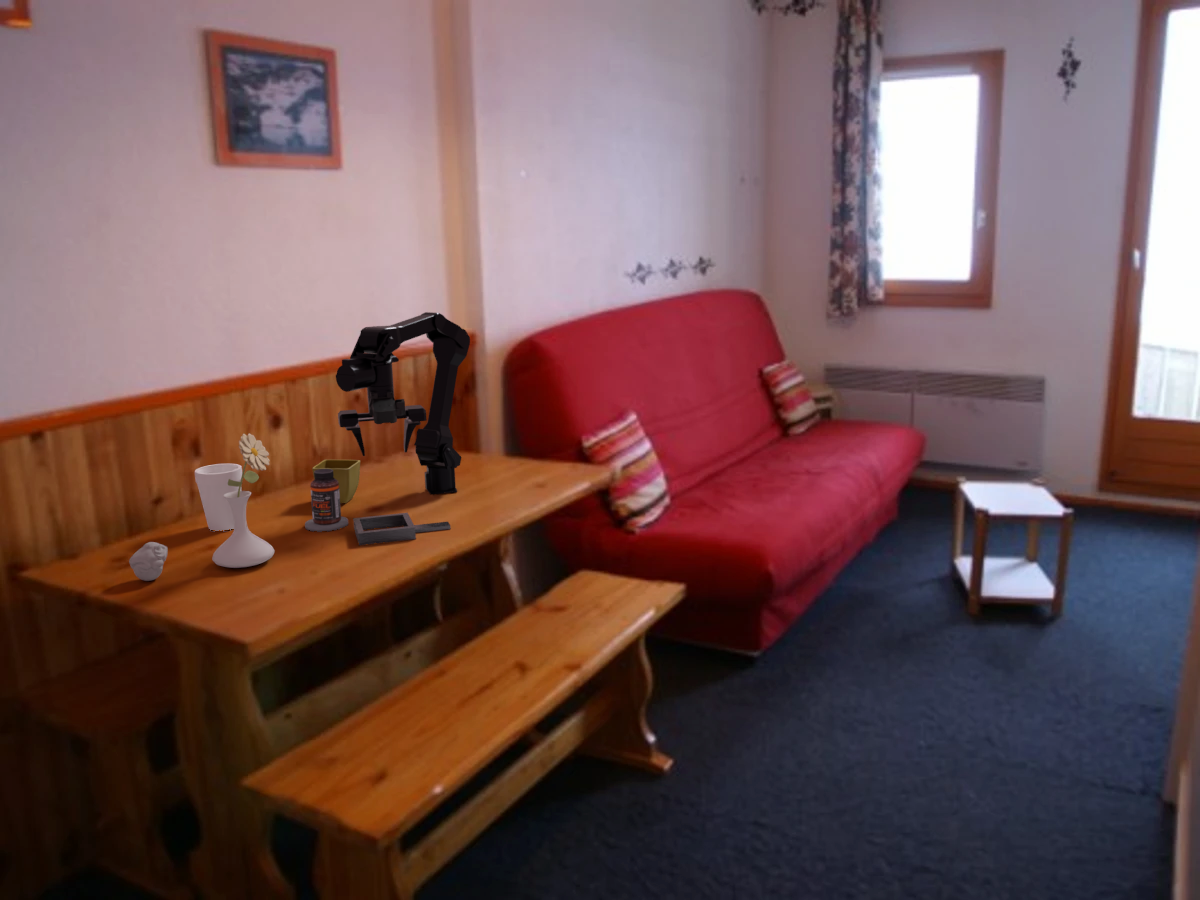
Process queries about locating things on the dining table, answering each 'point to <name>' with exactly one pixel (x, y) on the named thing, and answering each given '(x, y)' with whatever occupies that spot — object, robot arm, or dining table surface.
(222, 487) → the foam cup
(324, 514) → the supplement bottle
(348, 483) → the flower pot
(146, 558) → the lumpy white ball
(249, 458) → the flower in vase
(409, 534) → the square pan with handle
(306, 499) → the dining table surface
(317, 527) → the coaster
